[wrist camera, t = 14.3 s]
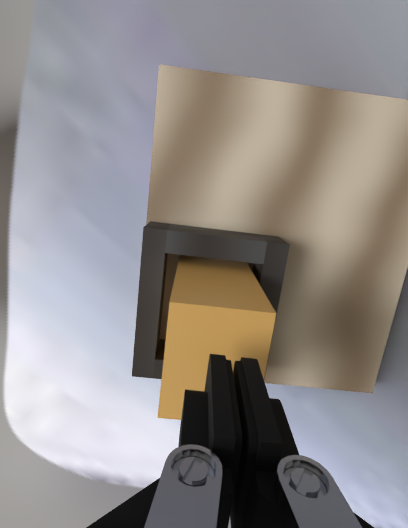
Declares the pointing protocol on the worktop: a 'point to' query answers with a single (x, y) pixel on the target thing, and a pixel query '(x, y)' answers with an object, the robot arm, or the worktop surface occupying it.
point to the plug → (211, 325)
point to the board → (281, 216)
